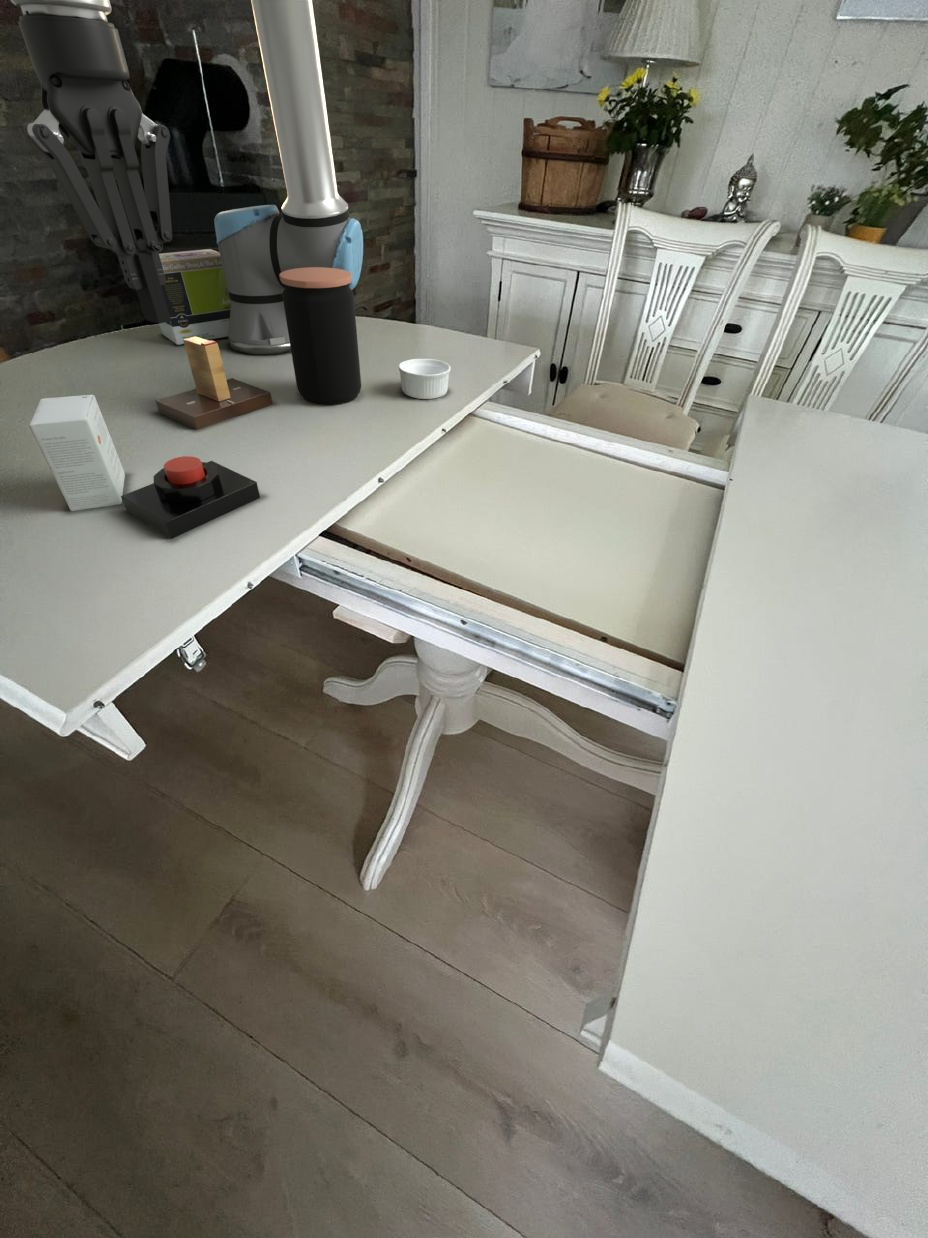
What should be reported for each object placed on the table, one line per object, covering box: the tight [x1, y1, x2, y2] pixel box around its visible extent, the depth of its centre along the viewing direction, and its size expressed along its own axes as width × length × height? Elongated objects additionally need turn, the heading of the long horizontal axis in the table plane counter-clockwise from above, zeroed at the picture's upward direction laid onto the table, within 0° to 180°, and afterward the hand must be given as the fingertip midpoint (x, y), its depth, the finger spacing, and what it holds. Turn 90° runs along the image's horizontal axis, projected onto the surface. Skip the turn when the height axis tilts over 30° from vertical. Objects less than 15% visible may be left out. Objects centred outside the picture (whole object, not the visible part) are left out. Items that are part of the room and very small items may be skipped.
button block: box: [121, 460, 261, 540], centre depth 67 cm, size 12×9×4 cm
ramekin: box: [398, 358, 452, 400], centre depth 98 cm, size 9×9×4 cm
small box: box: [28, 394, 126, 512], centre depth 66 cm, size 8×6×10 cm
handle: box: [183, 336, 231, 402], centre depth 87 cm, size 6×2×8 cm, turn 53°
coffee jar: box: [279, 267, 362, 406], centre depth 91 cm, size 11×11×18 cm
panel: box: [155, 377, 274, 431], centre depth 90 cm, size 14×10×2 cm
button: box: [163, 455, 205, 485], centre depth 65 cm, size 4×4×2 cm
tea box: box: [158, 248, 231, 346], centre depth 116 cm, size 15×10×15 cm, turn 129°
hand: (158, 319), depth 64 cm, fingers closed
